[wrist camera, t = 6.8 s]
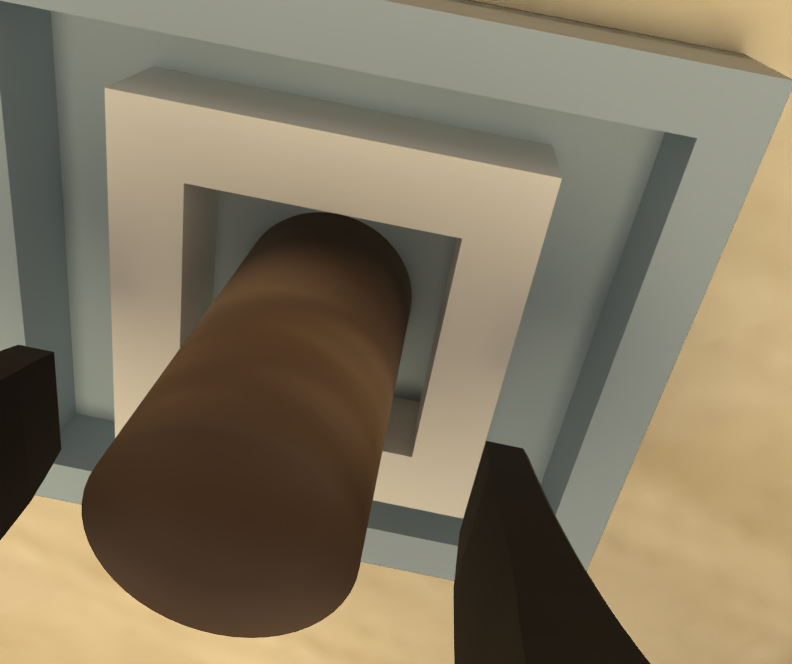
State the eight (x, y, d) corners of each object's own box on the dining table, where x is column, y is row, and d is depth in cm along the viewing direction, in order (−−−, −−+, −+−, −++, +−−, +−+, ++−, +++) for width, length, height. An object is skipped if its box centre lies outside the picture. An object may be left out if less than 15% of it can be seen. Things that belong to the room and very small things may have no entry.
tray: (744, 54, 15) (795, 80, 12) (562, 526, 21) (572, 605, 19) (7, -90, 15) (-87, -93, 12) (50, 422, 21) (-6, 487, 19)
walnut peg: (433, 242, 16) (393, 478, 9) (385, 384, 18) (324, 665, 11) (260, 189, 16) (91, 389, 9) (231, 338, 18) (74, 594, 11)
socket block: (552, 145, 15) (562, 178, 13) (465, 459, 19) (462, 518, 17) (152, 66, 15) (104, 87, 13) (151, 395, 19) (115, 447, 17)
